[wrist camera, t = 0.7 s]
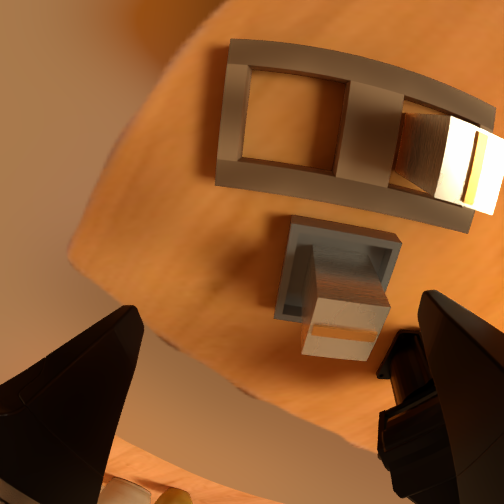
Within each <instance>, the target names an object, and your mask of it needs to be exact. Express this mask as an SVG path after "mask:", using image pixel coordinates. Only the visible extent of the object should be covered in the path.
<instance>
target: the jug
mask: <svg viewBox="0 0 504 504" xmlns="http://www.w3.org/2000/svg"><path fill="white" fill-rule="evenodd" d="M97 504H151V493H150V492H149V491H147V490H146V489H144V488H142V487H141V486H139V485H136V484H134V483H132V482H129V481H127V480H124V479H121V478H117V477H114V478H112V480H110V481H109V483H108V484H107V485H106V486H105V488H104V489H103V490H102V492H101V493H100V494H99V498H98V502H97Z"/></svg>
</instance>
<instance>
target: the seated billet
mask: <svg viewBox="0 0 504 504" xmlns="http://www.w3.org/2000/svg"><path fill="white" fill-rule="evenodd" d="M395 172H397V173H399V174H400V175H402V176H403V177H405V178H406V179H408V180H409V181H411V182H412V183H414V184H415V185H417V186H418V187H420V188H421V189H423V190H424V191H426V192H427V193H429V194H430V195H432V196H433V197H435V198H438V199H442V200H445V201H449V202H452V203H456V204H459V205H462V206H465V207H469V208H472V209H475V210H478V211H481V212H484V213H487V214H490V215H492V214H493V211H494V207H495V204H496V200H497V197H498V193H499V189H500V185H501V181H502V177H503V173H504V140H503V139H501V138H499V137H497V136H495V135H493V134H491V133H489V132H487V131H485V130H483V129H480V128H478V127H476V126H474V125H472V124H469V123H467V122H465V121H462V120H460V119H457V118H455V117H453V116H446V115H433V114H414V113H405V118H404V125H403V130H402V136H401V142H400V147H399V152H398V157H397V162H396V167H395Z"/></svg>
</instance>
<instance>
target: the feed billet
mask: <svg viewBox="0 0 504 504" xmlns="http://www.w3.org/2000/svg"><path fill="white" fill-rule="evenodd" d="M390 308H391V307H390V304H389V302H388V299H387V297H386V295H385V292H384V290H383V287H382V285H381V283H380V280H379V278H378V276H377V273H376V271H375V269H374V267H373V264H372V262H371V260H370V258H369V256H368V254H365V253H359V252H353V251H347V250H341V249H335V248H330V247H324V246H318V245H313V246H312V250H311V255H310V259H309V264H308V268H307V273H306V277H305V281H304V286H303V290H302V341H301V354H304V355H311V356H320V357H328V358H337V359H347V360H358V361H367V359H368V357H369V355H370V353H371V351H372V349H373V347H374V344H375V342H376V340H377V338H378V336H379V334H380V331H381V329H382V327H383V325H384V322H385V320H386V318H387V315H388V313H389V311H390Z"/></svg>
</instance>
